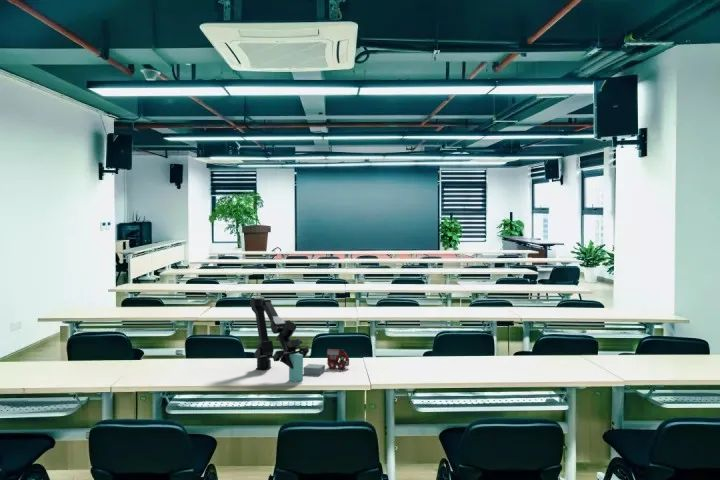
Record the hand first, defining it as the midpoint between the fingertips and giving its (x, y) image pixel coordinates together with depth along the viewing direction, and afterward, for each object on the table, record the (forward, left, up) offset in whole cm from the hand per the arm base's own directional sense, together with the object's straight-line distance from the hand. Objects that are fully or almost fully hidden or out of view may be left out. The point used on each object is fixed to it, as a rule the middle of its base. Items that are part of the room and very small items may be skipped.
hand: (297, 367), depth 314 cm
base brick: (+2, +19, -7) cm, 20 cm away
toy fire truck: (+10, +34, -7) cm, 36 cm away
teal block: (-1, +1, -7) cm, 7 cm away
